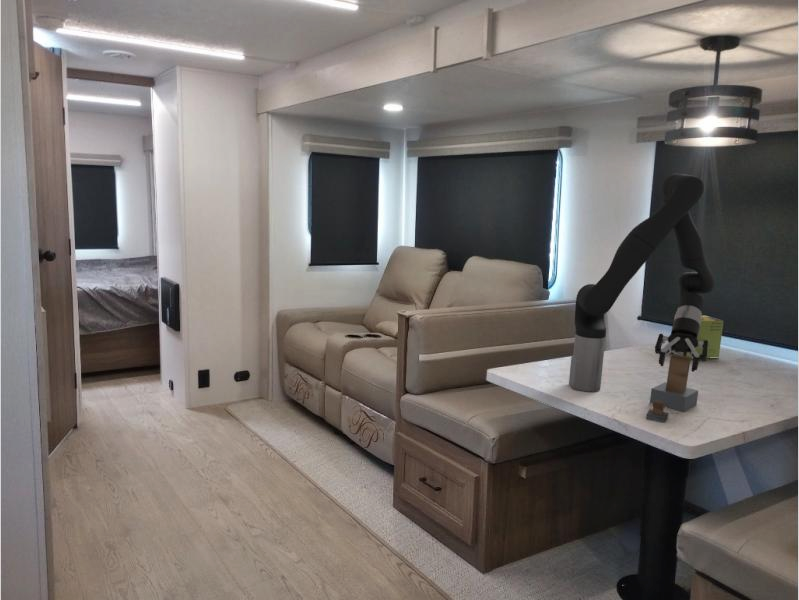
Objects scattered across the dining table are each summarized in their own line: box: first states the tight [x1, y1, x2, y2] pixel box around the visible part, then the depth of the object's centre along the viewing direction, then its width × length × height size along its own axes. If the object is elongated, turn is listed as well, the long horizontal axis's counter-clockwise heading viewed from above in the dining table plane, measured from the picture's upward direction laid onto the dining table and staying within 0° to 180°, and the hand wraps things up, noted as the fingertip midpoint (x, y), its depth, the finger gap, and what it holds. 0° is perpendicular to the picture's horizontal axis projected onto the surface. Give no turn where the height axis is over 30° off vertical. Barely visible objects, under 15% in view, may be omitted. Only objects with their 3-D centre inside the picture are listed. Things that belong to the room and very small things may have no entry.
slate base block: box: [649, 382, 699, 413], centre depth 185 cm, size 10×10×5 cm
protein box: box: [670, 315, 724, 360], centre depth 246 cm, size 10×15×16 cm
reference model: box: [645, 399, 669, 424], centre depth 172 cm, size 5×5×5 cm
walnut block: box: [666, 354, 692, 393], centre depth 184 cm, size 5×5×10 cm
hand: (677, 367), depth 183 cm, fingers open, 8 cm apart
